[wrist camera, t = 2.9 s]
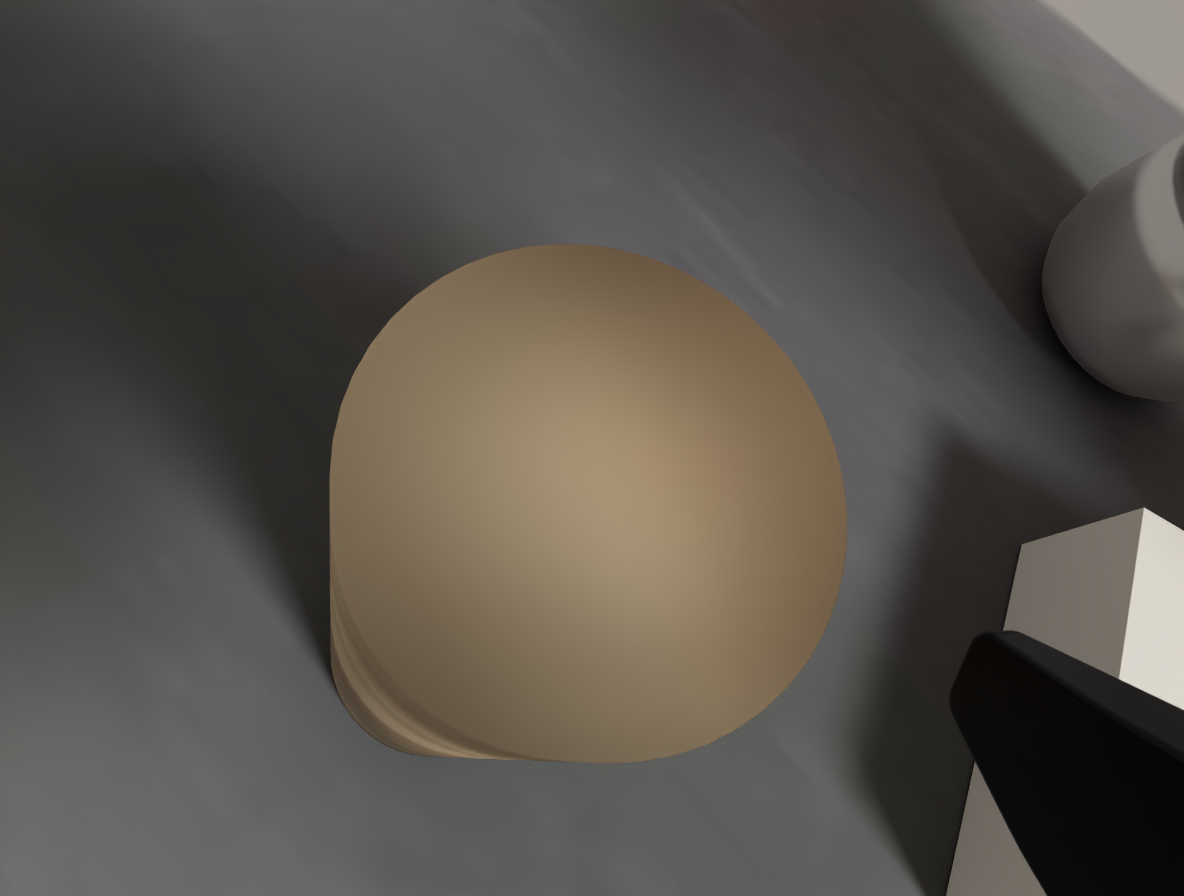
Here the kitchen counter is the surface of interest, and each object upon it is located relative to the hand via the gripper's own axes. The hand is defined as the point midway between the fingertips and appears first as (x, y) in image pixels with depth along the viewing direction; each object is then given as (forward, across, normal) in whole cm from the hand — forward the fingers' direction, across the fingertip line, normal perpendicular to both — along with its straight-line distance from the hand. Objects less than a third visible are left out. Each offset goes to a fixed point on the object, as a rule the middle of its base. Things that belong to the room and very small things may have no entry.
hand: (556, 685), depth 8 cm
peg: (+7, 0, +6) cm, 9 cm away
